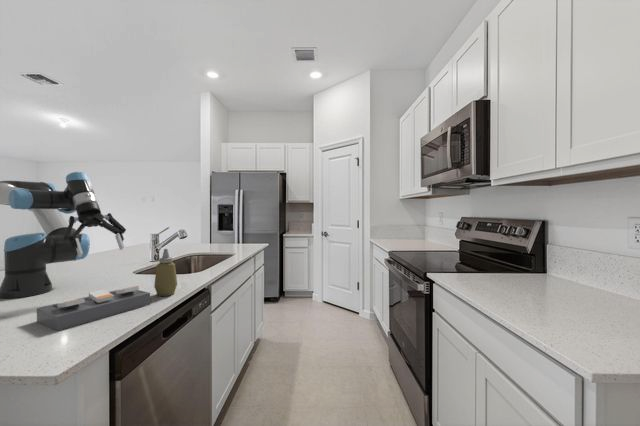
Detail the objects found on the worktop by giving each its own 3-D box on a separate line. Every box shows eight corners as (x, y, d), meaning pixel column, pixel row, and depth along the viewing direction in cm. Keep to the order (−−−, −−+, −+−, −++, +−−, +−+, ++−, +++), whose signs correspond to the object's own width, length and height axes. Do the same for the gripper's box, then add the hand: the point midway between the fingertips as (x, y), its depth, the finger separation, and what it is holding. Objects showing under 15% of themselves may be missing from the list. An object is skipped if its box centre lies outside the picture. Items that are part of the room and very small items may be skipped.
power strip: (28, 317, 91) (27, 302, 91) (118, 295, 114) (118, 283, 114) (57, 331, 81) (57, 314, 81) (150, 304, 104) (150, 291, 104)
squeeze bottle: (167, 298, 111) (167, 250, 111) (149, 296, 113) (149, 250, 112) (181, 292, 119) (181, 247, 119) (164, 290, 121) (164, 247, 120)
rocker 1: (57, 307, 88) (57, 303, 88) (75, 303, 91) (75, 299, 92) (66, 306, 85) (66, 302, 85) (84, 302, 89) (84, 298, 89)
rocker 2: (116, 293, 102) (115, 290, 102) (129, 290, 105) (128, 287, 106) (125, 292, 99) (125, 288, 99) (138, 289, 103) (138, 285, 103)
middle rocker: (88, 296, 95) (88, 292, 94) (103, 292, 99) (104, 289, 98) (97, 302, 92) (98, 299, 92) (113, 299, 96) (113, 295, 96)
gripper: (47, 202, 107) (63, 253, 102) (124, 199, 128) (140, 241, 122) (44, 213, 111) (59, 263, 106) (118, 208, 132) (134, 250, 126)
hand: (102, 251), depth 114 cm, fingers open, 13 cm apart
